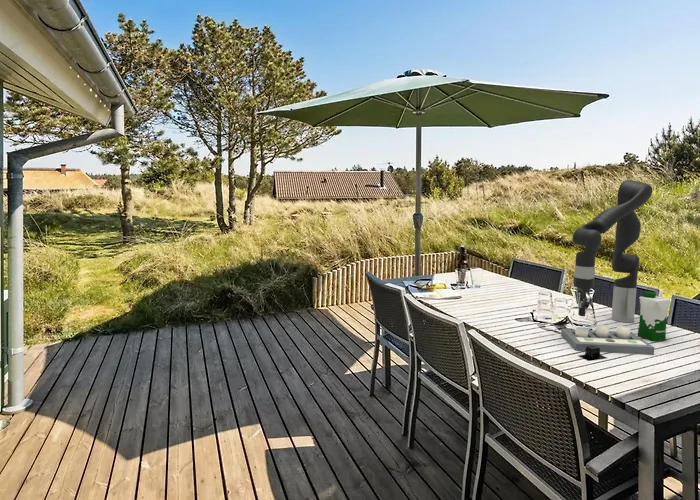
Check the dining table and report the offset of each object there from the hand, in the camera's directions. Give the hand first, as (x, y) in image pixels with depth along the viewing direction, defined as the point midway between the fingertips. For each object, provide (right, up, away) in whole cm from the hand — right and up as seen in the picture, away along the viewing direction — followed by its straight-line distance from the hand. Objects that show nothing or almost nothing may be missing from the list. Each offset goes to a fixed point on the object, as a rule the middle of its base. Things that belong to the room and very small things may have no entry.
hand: (581, 315), depth 167 cm
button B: (+8, -9, -1) cm, 12 cm away
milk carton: (+32, -11, +3) cm, 34 cm away
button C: (0, -11, +1) cm, 11 cm away
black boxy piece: (-5, -14, -15) cm, 21 cm away
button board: (+8, -12, -3) cm, 14 cm away
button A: (+16, -9, -2) cm, 19 cm away
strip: (+7, -9, -8) cm, 14 cm away
